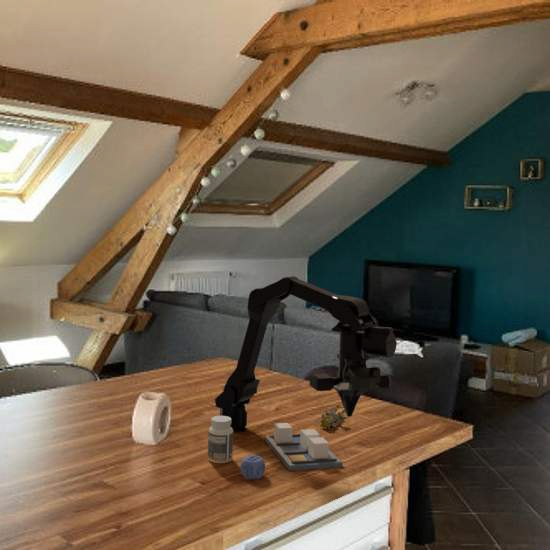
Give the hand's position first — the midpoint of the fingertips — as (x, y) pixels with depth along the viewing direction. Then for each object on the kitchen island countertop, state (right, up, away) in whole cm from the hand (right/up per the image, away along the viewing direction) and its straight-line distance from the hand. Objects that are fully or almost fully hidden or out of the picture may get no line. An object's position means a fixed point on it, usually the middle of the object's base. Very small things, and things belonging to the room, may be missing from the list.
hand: (349, 416), depth 163 cm
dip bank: (-11, -10, +4) cm, 15 cm away
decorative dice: (-23, -11, -12) cm, 28 cm away
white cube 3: (-16, -8, +9) cm, 19 cm away
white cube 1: (-7, -9, -1) cm, 12 cm away
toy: (-1, -8, +29) cm, 30 cm away
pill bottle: (-31, -10, -3) cm, 32 cm away
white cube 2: (-9, -8, +4) cm, 13 cm away
